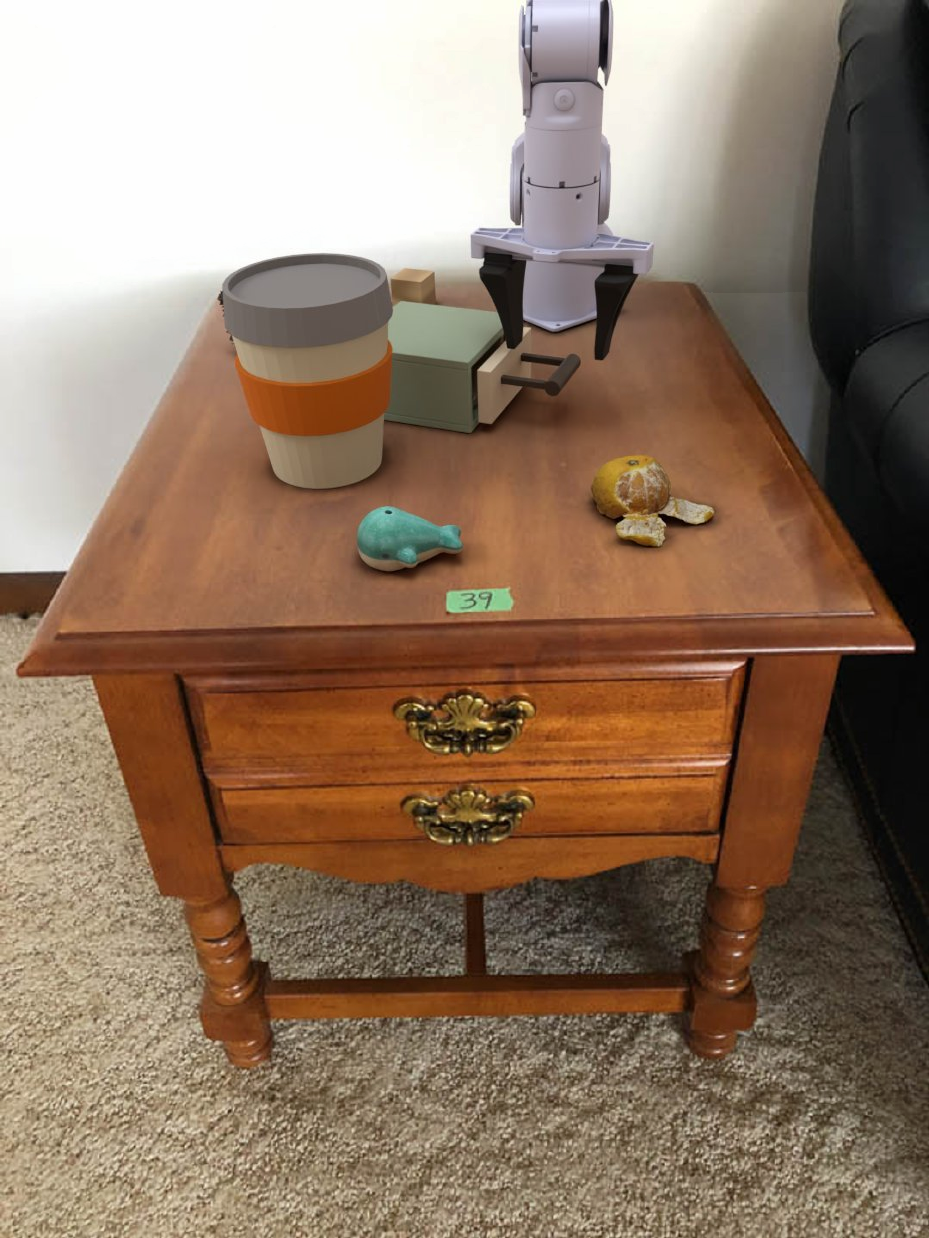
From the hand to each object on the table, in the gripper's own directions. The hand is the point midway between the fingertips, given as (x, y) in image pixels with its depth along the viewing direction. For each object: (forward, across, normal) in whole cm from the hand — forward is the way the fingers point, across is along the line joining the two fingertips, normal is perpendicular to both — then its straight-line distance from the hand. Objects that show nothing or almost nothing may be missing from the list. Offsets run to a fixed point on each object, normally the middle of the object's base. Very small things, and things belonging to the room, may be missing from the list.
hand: (557, 350), depth 86 cm
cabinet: (+6, -12, 0) cm, 13 cm away
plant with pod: (+2, -30, +4) cm, 31 cm away
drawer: (+5, -7, 0) cm, 8 cm away
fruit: (+6, +11, -14) cm, 19 cm away
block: (+6, -23, +20) cm, 31 cm away
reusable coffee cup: (+6, -15, -14) cm, 22 cm away
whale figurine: (+6, -3, -25) cm, 26 cm away
